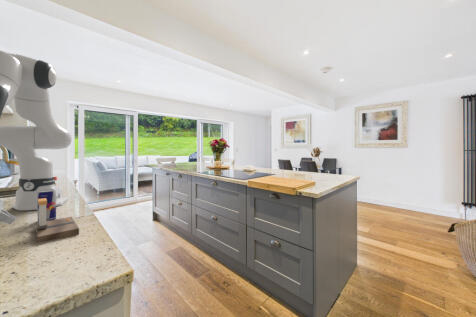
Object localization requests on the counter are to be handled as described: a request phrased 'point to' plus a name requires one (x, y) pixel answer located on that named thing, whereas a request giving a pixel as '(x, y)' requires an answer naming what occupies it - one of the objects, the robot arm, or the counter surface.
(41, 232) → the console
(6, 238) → the counter surface
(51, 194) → the energy drink
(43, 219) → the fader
